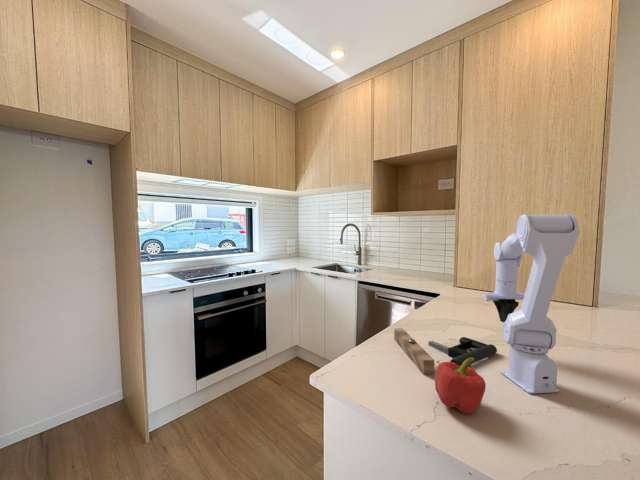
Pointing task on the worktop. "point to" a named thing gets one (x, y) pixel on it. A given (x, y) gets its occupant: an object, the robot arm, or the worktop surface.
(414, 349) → the bar
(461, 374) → the vegetable
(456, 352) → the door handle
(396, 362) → the worktop surface
